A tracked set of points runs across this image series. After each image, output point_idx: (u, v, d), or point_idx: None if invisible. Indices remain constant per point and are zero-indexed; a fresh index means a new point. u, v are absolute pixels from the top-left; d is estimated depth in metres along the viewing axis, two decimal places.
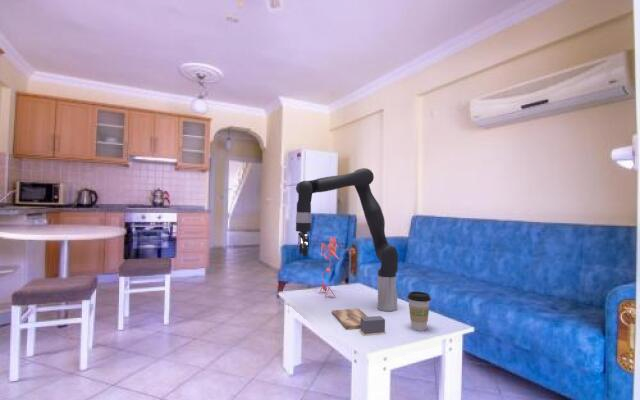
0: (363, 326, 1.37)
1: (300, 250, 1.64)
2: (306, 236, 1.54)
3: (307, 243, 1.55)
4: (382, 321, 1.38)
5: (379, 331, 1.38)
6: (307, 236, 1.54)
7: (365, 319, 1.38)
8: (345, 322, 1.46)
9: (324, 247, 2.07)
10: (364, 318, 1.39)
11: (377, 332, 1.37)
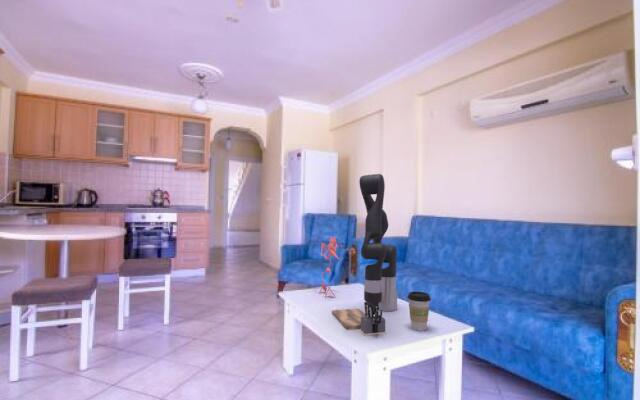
0: (363, 326, 1.37)
1: None
2: (379, 313, 1.33)
3: (379, 319, 1.35)
4: (382, 321, 1.38)
5: (379, 331, 1.38)
6: (380, 313, 1.33)
7: (366, 318, 1.38)
8: (345, 322, 1.46)
9: (324, 247, 2.07)
10: (364, 318, 1.39)
11: (377, 332, 1.37)
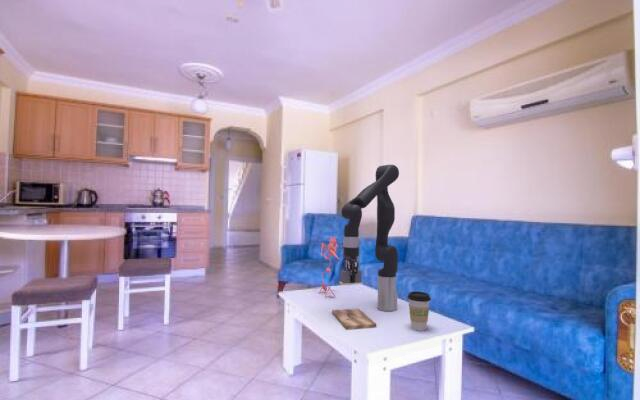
0: (342, 277, 1.56)
1: None
2: (356, 264, 1.52)
3: (356, 270, 1.54)
4: (359, 272, 1.57)
5: (356, 281, 1.56)
6: (357, 264, 1.52)
7: (344, 271, 1.57)
8: (345, 322, 1.46)
9: (324, 247, 2.07)
10: (343, 270, 1.58)
11: None
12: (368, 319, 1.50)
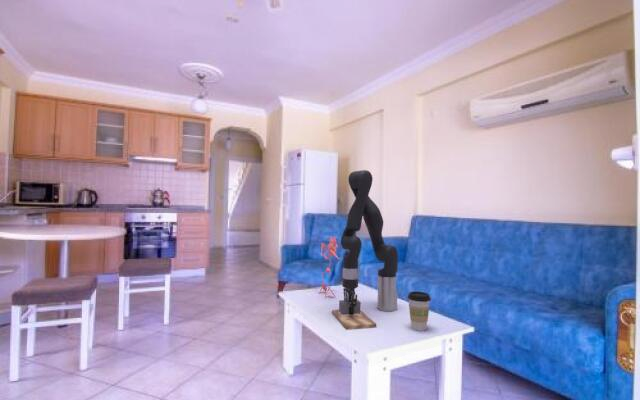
0: (341, 308, 1.56)
1: None
2: (355, 297, 1.52)
3: (355, 302, 1.53)
4: (358, 303, 1.56)
5: (355, 312, 1.56)
6: (355, 297, 1.52)
7: (343, 301, 1.57)
8: (345, 322, 1.46)
9: (324, 247, 2.07)
10: (342, 301, 1.58)
11: None
12: (368, 319, 1.50)
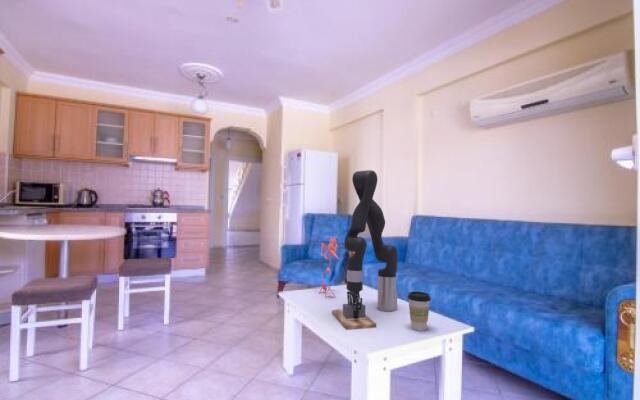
0: (345, 312, 1.50)
1: None
2: (359, 300, 1.46)
3: (359, 306, 1.48)
4: (362, 307, 1.51)
5: (360, 316, 1.50)
6: (360, 300, 1.46)
7: (347, 305, 1.51)
8: (345, 322, 1.46)
9: (324, 247, 2.07)
10: (346, 305, 1.52)
11: None
12: (368, 319, 1.50)
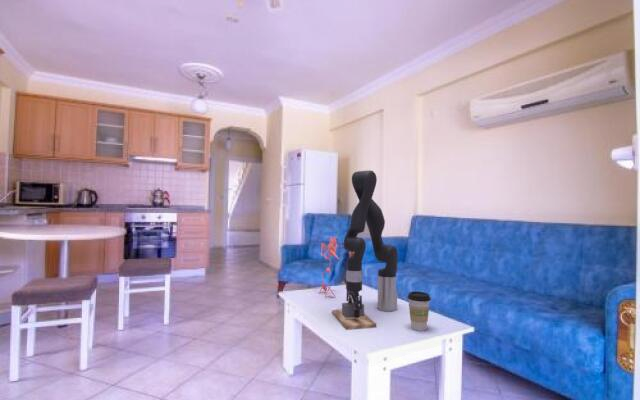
0: (344, 311, 1.52)
1: None
2: (359, 297, 1.47)
3: (360, 304, 1.47)
4: None
5: None
6: (360, 297, 1.47)
7: (346, 304, 1.53)
8: (345, 322, 1.46)
9: (324, 247, 2.07)
10: (345, 303, 1.54)
11: None
12: (368, 319, 1.50)
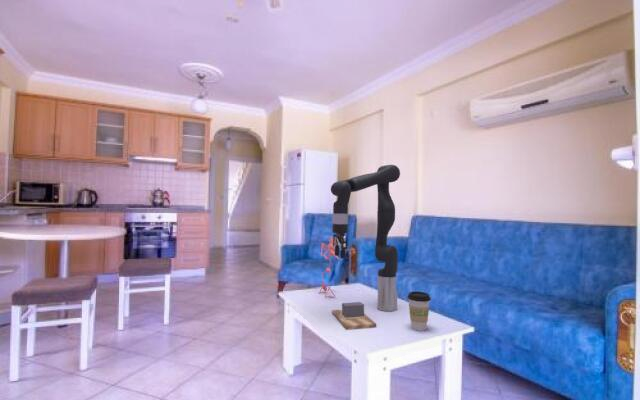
0: (344, 311, 1.52)
1: (336, 252, 1.61)
2: (345, 238, 1.51)
3: None
4: (361, 306, 1.52)
5: (359, 315, 1.52)
6: (346, 238, 1.51)
7: (346, 304, 1.53)
8: (345, 322, 1.46)
9: (324, 247, 2.07)
10: (345, 303, 1.54)
11: (357, 316, 1.52)
12: (368, 319, 1.50)
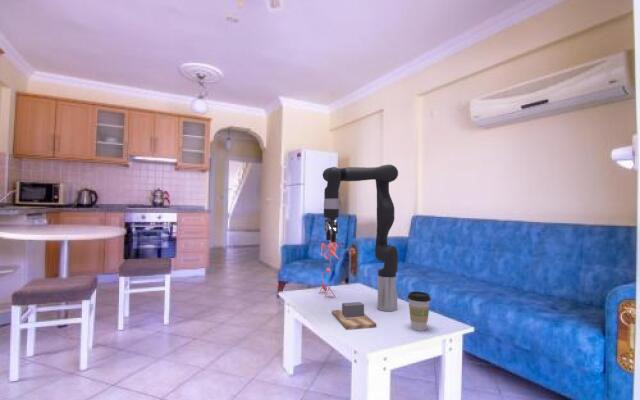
0: (344, 311, 1.52)
1: (327, 237, 1.64)
2: (335, 222, 1.54)
3: (336, 229, 1.54)
4: (361, 306, 1.52)
5: (359, 315, 1.52)
6: (336, 222, 1.54)
7: (346, 304, 1.53)
8: (345, 322, 1.46)
9: (324, 247, 2.07)
10: (345, 303, 1.54)
11: (357, 316, 1.52)
12: (368, 319, 1.50)
